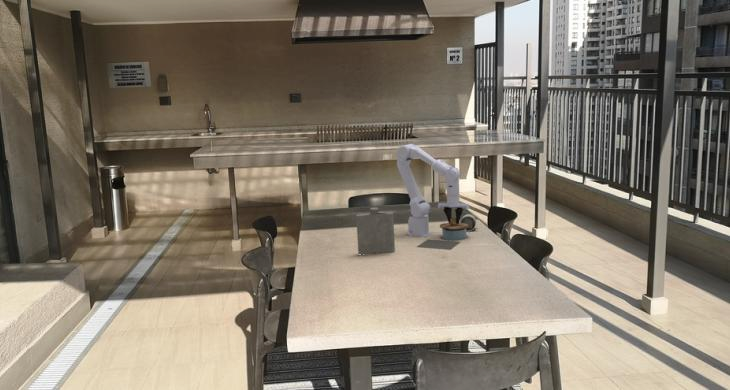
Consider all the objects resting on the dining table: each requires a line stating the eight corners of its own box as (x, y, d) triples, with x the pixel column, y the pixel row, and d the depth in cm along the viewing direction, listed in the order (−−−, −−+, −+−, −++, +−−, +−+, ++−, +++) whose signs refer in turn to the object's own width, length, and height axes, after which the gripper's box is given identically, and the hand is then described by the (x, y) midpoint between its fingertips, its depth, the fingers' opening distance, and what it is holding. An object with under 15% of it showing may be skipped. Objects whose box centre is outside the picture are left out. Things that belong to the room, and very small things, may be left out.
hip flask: (358, 255, 257) (356, 210, 254) (358, 253, 261) (355, 208, 258) (395, 253, 258) (393, 207, 255) (394, 250, 262) (392, 205, 259)
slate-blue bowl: (439, 239, 277) (438, 230, 276) (447, 234, 286) (447, 224, 286) (461, 241, 272) (461, 231, 271) (469, 235, 281) (469, 226, 280)
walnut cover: (435, 228, 275) (435, 219, 275) (445, 223, 287) (445, 215, 286) (462, 230, 269) (462, 221, 269) (471, 225, 280) (471, 216, 280)
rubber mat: (416, 247, 265) (416, 246, 265) (428, 240, 277) (427, 239, 277) (450, 250, 257) (450, 249, 257) (461, 242, 269) (461, 241, 269)
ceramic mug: (476, 227, 296) (476, 212, 295) (476, 231, 288) (475, 215, 287) (455, 228, 299) (454, 213, 297) (453, 232, 291) (453, 216, 290)
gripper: (435, 195, 276) (436, 224, 278) (465, 196, 269) (466, 226, 271) (440, 192, 282) (441, 221, 284) (470, 193, 275) (471, 222, 277)
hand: (453, 223), depth 278 cm, fingers closed on walnut cover, 3 cm apart
